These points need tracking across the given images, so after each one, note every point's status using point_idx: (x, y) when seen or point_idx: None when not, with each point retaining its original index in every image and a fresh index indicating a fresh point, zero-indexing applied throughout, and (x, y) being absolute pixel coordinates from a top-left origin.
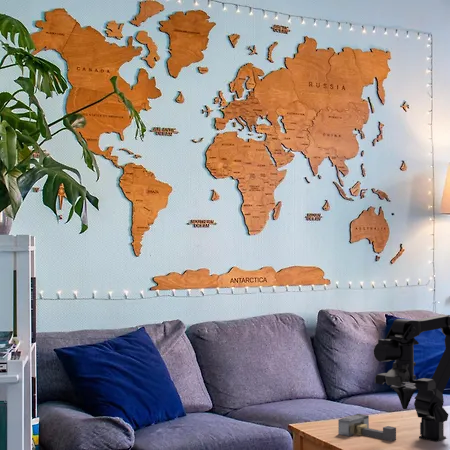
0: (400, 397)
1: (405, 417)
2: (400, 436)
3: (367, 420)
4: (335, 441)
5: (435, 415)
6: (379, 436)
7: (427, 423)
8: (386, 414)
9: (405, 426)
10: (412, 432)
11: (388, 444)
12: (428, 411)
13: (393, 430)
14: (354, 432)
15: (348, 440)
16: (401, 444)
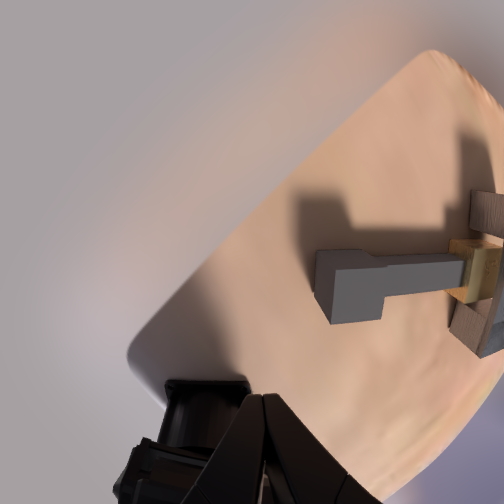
0: (324, 494)
1: (382, 479)
2: (325, 357)
3: (472, 341)
4: (462, 97)
5: (134, 458)
6: (385, 258)
7: (203, 435)
8: (425, 462)
9: (359, 445)
10: (312, 422)
11: (299, 193)
12: (152, 468)
13: (330, 292)
14: (474, 241)
15: (449, 138)
16: (250, 242)
